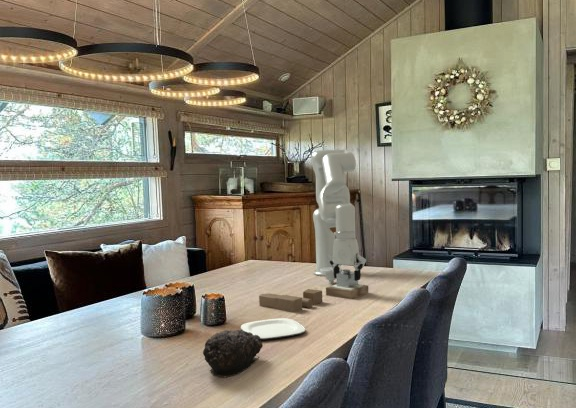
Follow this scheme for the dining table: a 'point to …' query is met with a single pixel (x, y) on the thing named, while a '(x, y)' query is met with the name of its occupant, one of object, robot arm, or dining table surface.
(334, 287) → the stand
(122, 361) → the dining table surface
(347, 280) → the housing
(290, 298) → the wooden block set
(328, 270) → the showerhead
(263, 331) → the plate
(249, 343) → the pine cone
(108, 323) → the dining table surface
